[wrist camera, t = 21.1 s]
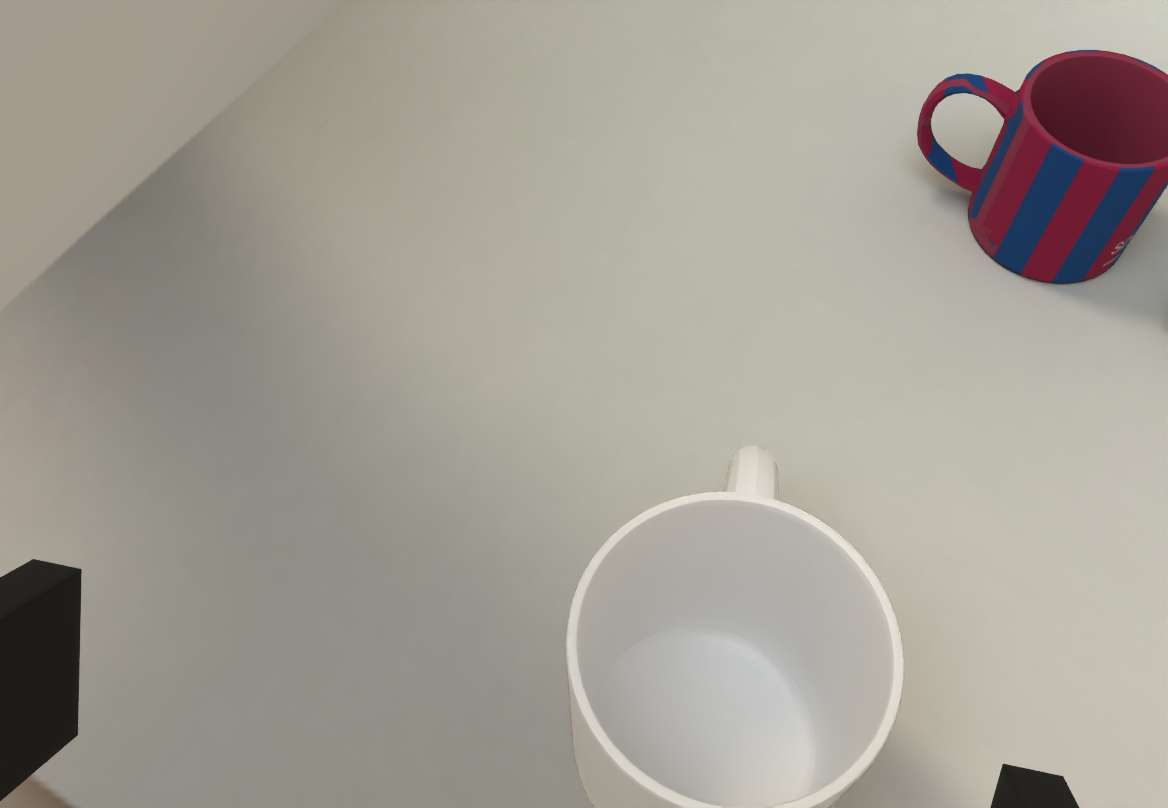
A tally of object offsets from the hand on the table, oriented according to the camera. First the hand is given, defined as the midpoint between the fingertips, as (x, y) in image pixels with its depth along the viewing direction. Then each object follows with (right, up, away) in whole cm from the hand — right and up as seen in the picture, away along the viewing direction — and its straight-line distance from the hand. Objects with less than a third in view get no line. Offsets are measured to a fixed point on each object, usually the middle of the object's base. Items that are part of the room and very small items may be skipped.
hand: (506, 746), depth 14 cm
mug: (+5, -5, +21) cm, 22 cm away
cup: (+20, +13, +32) cm, 40 cm away
